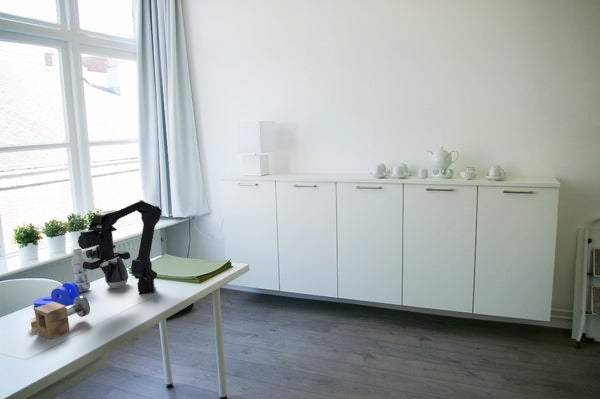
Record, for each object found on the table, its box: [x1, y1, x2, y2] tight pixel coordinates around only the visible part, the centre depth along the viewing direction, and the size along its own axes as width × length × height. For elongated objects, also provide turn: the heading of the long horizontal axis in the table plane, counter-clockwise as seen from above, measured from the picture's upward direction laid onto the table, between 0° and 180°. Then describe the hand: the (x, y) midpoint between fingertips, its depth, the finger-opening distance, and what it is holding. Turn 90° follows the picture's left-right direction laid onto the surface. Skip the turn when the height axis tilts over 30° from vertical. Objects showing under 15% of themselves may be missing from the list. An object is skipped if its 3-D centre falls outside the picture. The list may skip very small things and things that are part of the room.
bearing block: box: [33, 302, 71, 340], centre depth 166 cm, size 7×9×10 cm
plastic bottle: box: [70, 248, 91, 293], centre depth 207 cm, size 6×7×20 cm
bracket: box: [33, 280, 81, 308], centre depth 194 cm, size 18×8×9 cm, turn 80°
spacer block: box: [30, 317, 38, 333], centre depth 170 cm, size 4×4×4 cm
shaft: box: [66, 294, 91, 318], centre depth 171 cm, size 12×8×8 cm, turn 146°
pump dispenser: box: [104, 258, 129, 289], centre depth 212 cm, size 10×10×15 cm
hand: (109, 279), depth 186 cm, fingers closed
